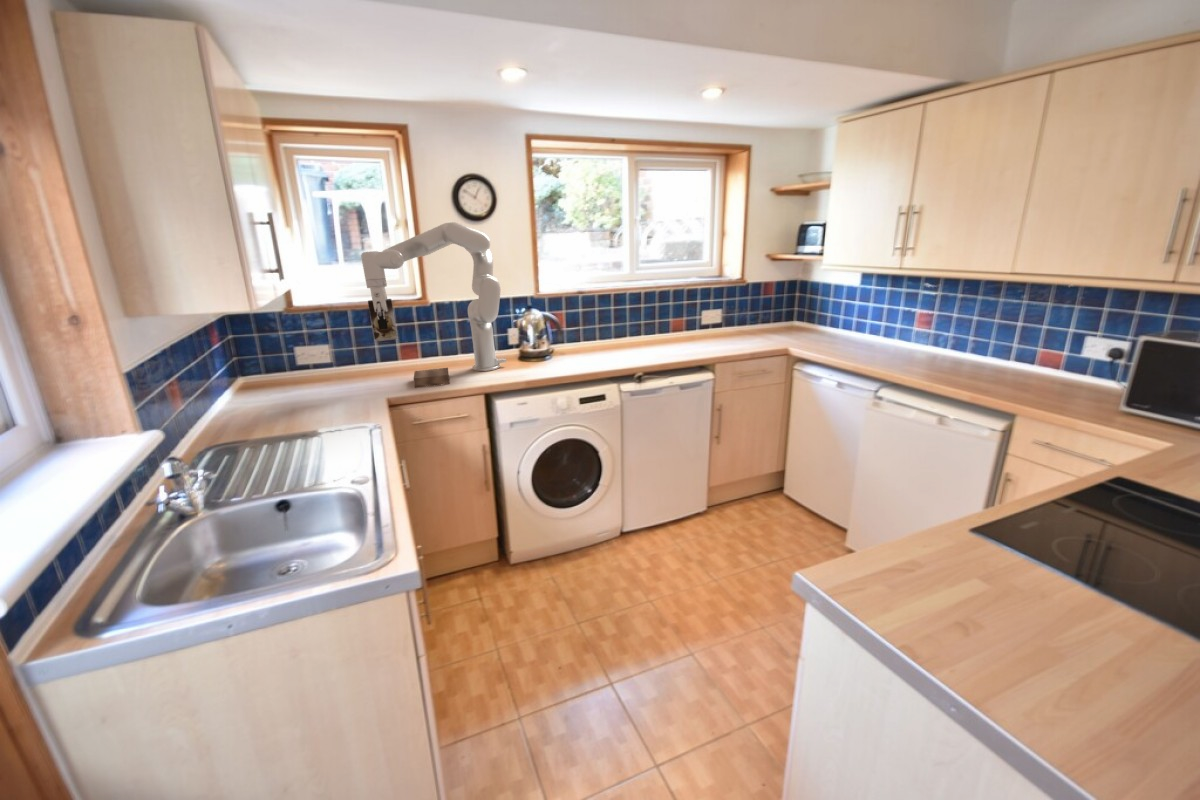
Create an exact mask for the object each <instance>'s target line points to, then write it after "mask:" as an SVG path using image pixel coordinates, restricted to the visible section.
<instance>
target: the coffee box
mask: <svg viewBox="0 0 1200 800" xmlns="http://www.w3.org/2000/svg"><path fill="white" fill-rule="evenodd" d="M386 302H387V308H388V312H386V311H384V312H385V319H386V321H387V326H388V329H381V330H380V329H379V324H378V317H377V313H376V312H375V310H374V306H373V301H372V299H370V300H367V305H368V309H369V317H370V321H371V326H372V327H371V328H372V332H373V339H374V342H383V341H392V340H399V337H398V330H397V323H396V318H395V312H394V307H393V306H394V305H393V301H392V298H387V300H386ZM376 311H377V309H376ZM381 311H383V310H381Z"/></svg>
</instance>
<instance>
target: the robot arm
mask: <svg viewBox="0 0 1200 800" xmlns="http://www.w3.org/2000/svg"><path fill="white" fill-rule="evenodd" d="M450 245H457V246H459V247H461V248H464V249H465V250H466V251H467V252H468V253H469V254H470V256H471V258H472V261H473V267H472V268H473V270H472V279H471V280H472V281H471V289H472V292H473V293H474V294H475V295H476V296H478V298H477V299H474V300H472V301H470V303H469V304H468V306H467V316H468V320H469V325H470V329H471V338H472V347H473V355H474V365H472V367H471V369H472V370H473V371H475V372H488V371H494V370H497V369H499V368H500V367H501V364H504V363H507V358H503V357H500V358H498V357H497V356H496V349H495V347H496V346H495V338H494V329H493V324H492V323H493V322H495V321H496V320H497V318H498V315H499V310H500V300H501V299H500V298H501V285H500V282H499V279H497V278H496V277H494V276H493V275H494V258H493V256H492V253H491V250H490V247H491V240H490V238H489V237H488V235H487V234H485V233H484V232H482V231H479V230H477V229H474V228H471V227H468V226H466V225H463V224H462V223H458V222H455V221H452V222H444V223H442V224H440V225H438V226H435V227H432V228H431V229H428V230H427V231H424V232H422V233H419V234H417V235H414V236H413V237H411V238H409V239H406V240H403V241H402V242H399V243H397V244H395V245H392V246H390V247H387V248H386V249H383V250H382V251H377V250H376V251H375V250H374V251H363V252H361V254H360V259H361V264H362V269H363V274H364V279H365V285H366V288H367V289H370V294H371V300H372V301H373V306H374V310H375V312H376V313H377V317H378V324H379V329H380V330H381V329H388V326H387V321H386V319H385V312H384V311H386V312H388V308H387V302H386V300H387V299H388V295H387V292H386V288H387V286H388V285H387V279H386V274H385V270H387V269H388V270H389V269H390V270H397V269H398V270H399V269H400V268H401V267H402V266H403V265H404V263H405V262H407V261H410V260H413V259H416V258H420V257H425V256H429V255H431V254H433V253H435V252H437V251H439V250H442V249H445V248H446V247H448V246H450ZM376 309H377V311H376ZM381 310H383V311H381Z"/></svg>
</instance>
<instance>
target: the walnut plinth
mask: <svg viewBox="0 0 1200 800" xmlns="http://www.w3.org/2000/svg"><path fill="white" fill-rule="evenodd" d="M413 373H414V374H413V383H414V388H415V389H417V388H425V387H426V386H427V387H434V385H435V386H442V385H441V384H444V385H450V384H451V382H450V373H449V368H448V367H441V368H439V367H438V368H433V369H422V370H415V371H414V372H413Z"/></svg>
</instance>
